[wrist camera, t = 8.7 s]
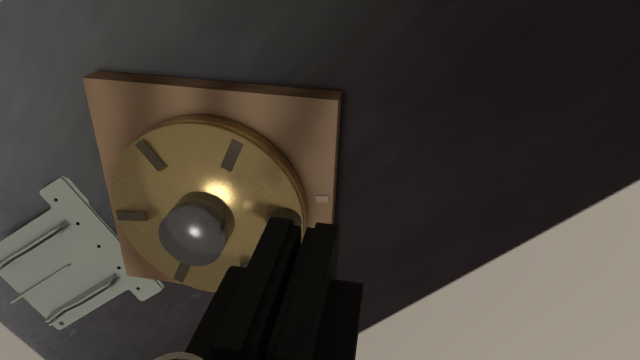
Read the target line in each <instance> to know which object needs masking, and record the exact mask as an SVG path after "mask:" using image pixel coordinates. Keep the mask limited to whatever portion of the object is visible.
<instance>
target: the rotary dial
mask: <svg viewBox="0 0 640 360" xmlns="http://www.w3.org/2000/svg"><path fill="white" fill-rule="evenodd" d="M111 195H112V204H113V208H114V212H115V215H116V218H117V221H118V223H119V225H120V227H121V229H122V231H123V233H124V234H125V236H126V237H127V239H128V240H129V242H130V243H131V244H132V246H133V247H134V248H135V249H136V251H137V252H138V253H139V254H140V255H141V256H142V257H143V258H144V259H145V260H146V261H148V262H149V263H150V264H151V265H152V266H154V267H155V268H156V269H158V270H159V271H161V272H162V273H163V274H165V275H167V276H169V277H170V278H172V279H174V280H176V281H178V282H180V283H183V284H185V285H188V286H190V287H193V288H196V289H200V290H204V291H209V292H216V291H217V289H218V287H219V285H220V283H221V281H222V279H223V277H224V275H225V273H226V271H227V270H228V268H229V267H230V266H240V267H247V265H248V263H249V261H250V259H251V257H252V255H253V252H254V250H255V248H256V246H257V244H258V242H259V240H260V237H261V235H262V233H263V231H264V229H265V227H266V224H267V222H268V220H269V218H270V217H279V218H287V219H293V220H294V225H295V226H301V242H302V239H303V236H304V233H305V229H306V224H307V203H306V197H305V193H304V190H303V187H302V184H301V182H300V180H299V177H298V175H297V174H296V172H295V170H294V169H293V167H292V165H291V164H290V163H289V162H288V160H287V159H286V158H285V156H284V155H283V154H282V153H281V152H280V151H279V150H278V149H277V148H276V147H275V146H274V145H273V144H271V143H270V142H269V141H268V140H267V139H265V138H264V137H263V136H261V135H259V134H258V133H256V132H255V131H253V130H251V129H249V128H247V127H245V126H243V125H241V124H239V123H236V122H233V121H230V120H228V119H224V118H219V117H215V116H207V115H186V116H180V117H175V118H172V119H169V120H166V121H163V122H161V123H159V124H157V125H155V126H154V127H152V128H151V129H150V130H148V131H147V132H146V133H144V134H143V135H142V136H141V137H139V138H138V139H137V140H136V141H135V142H133V143H132V144H131V145H130V146H129V147H128V148H127V149H126V150H125V151H124V153H123V154H122V156H121V157H120V159H119V160H118V163H117V165H116V167H115V170H114V173H113V177H112V185H111Z"/></svg>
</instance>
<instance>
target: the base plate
mask: <svg viewBox="0 0 640 360" xmlns="http://www.w3.org/2000/svg"><path fill="white" fill-rule="evenodd" d="M83 82H84V87H85V91H86V96H87V100H88V105H89V109H90V114H91V118H92V123H93V127H94V131H95V136H96V140H97V145H98V149H99V154H100V158H101V163H102V167H103V172H104V176H105V180H106V185H107V189H108V194H109V198H110V203H111V207H112V212H113V216H114V221H115V225H116V229H117V234H118V238H119V243H120V247H121V252H122V256H123V261H124V265H125V270H126V274H127V276H132V277H139V278H146V279H153V280H160V281H166V282H173V283H180V282H178V281H176V280H174V279H172V278H170V277H169V276H167V275H165V274H163V273H162V272H161V271H159V270H158V269H156V268H155V267H154V266H152V265H151V264H150V263H149V262H148V261H146V260H145V259H144V258H143V257H142V256H141V255H140V254H139V253H138V252H137V251H136V249H135V248H134V247H133V246H132V244H131V243H130V242H129V240H128V239H127V237H126V236H125V234H124V233H123V231H122V229H121V227H120V225H119V223H118V221H117V218H116V215H115V212H114V208H113V204H112V195H111V185H112V177H113V173H114V170H115V167H116V165H117V163H118V160H119V159H120V157H121V156H122V154H123V153H124V151H125V150H126V149H127V148H128V147H129V146H130V145H131V144H132V143H133V142H135V141H136V140H137V139H138V138H139V137H141V136H142V135H143V134H144V133H146V132H147V131H148V130H150V129H151V128H152V127H154V126H155V125H157V124H159V123H161V122H163V121H166V120H169V119H172V118H175V117H180V116H186V115H207V116H215V117H219V118H224V119H228V120H230V121H233V122H236V123H239V124H241V125H243V126H245V127H247V128H249V129H251V130H253V131H255V132H256V133H258V134H259V135H261V136H263V137H264V138H265V139H267V140H268V141H269V142H270V143H271V144H273V145H274V146H275V147H276V148H277V149H278V150H279V151H280V152H281V153H282V154H283V155H284V156H285V158H286V159H287V160H288V162H289V163H290V164H291V165H292V167H293V169H294V170H295V172H296V174H297V175H298V177H299V180H300V182H301V184H302V187H303V190H304V193H305V197H306V203H307V224H306V229H307V227H311V228H315V225H316V223H317V222H319V223H327V224H334V216H335V199H336V181H337V164H338V147H339V130H340V112H341V95H342V92H341V91H329V90H317V89H306V88H294V87H283V86H271V85H259V84H248V83H236V82H225V81H213V80H201V79H190V78H178V77H167V76H155V75H144V74H132V73H120V72H109V71H95V72H93V73H91V74H89V75H87V76H85V77H83ZM306 229H305V231H306ZM304 234H305V233H304ZM303 237H304V236H303ZM302 240H303V239H302ZM301 243H302V242H301ZM180 284H183V283H180Z"/></svg>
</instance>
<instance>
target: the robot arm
mask: <svg viewBox="0 0 640 360" xmlns="http://www.w3.org/2000/svg"><path fill="white" fill-rule="evenodd" d="M338 239H339V225H335V224H327V223H319V222H317V223H316V225H315V228H311V227H307V229H306V231H305V234H304V237H303V240H302V243H301V226H295V225H294V220H293V219H287V218H279V217H270V218H269V220H268V222H267V224H266V227H265V229H264V231H263V233H262V235H261V237H260V240H259V242H258V244H257V246H256V248H255V250H254V252H253V255H252V257H251V259H250V261H249V263H248V265H247V267H240V266H230V267H229V268H228V270H227V271H226V273H225V275H224V277H223V279H222V281H221V283H220V285H219V287H218V289H217V291H216V293H215V295H214V297H213V299H212V300H211V302H210V304H209V306H208V308H207V310H206V312H205V314H204V316H203V318H202V320H201V322H200V324H199V326H198V328H197V330H196V331H195V333H194V335H193V337H192V339H191V341H190V343H189V345H188V347H187V349H186V351H185V352H177V353H169V354H166V355H163V356H160V357H158V358H156V359H154V360H355V355H356V347H357V338H358V330H359V322H360V313H361V303H362V294H363V283H355V282H348V281H341V280H336V270H337V254H338Z"/></svg>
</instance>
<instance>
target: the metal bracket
mask: <svg viewBox="0 0 640 360" xmlns="http://www.w3.org/2000/svg"><path fill="white" fill-rule="evenodd" d="M40 195H41V196H42V197H43V198H44V199H45V200H46V201H47V202H48V203H49V204H50V206H51V209H50V210H48V211H47V212H45V213H44V214H42V215H41V216H39V217H38V218H36V219H35V220H33V221H31V222H30V223H28V224H27V225H25V226H24V227H22V228H21V229H19V230H18V231H16V232H14V233H13V234H11V235H10V236H8V237H7V238H5V239H4V240H2V241H0V276H1V277H2V278H3V279H4V280H5V281H6V282H8V283H9V284H10V285H11V286H12V287H13V288H14V289H15V290H16V291H17V292H18V293H19V294H18V295H17V296H16V297H15V298H14V299H13V300H12V301H11V302H10V303H11V304H12V303H14V302H15V301H17V300H18V299H20V298H21V297H23V298H24V299H26V300H27V301H28V302H29V303H30V304H31V305H32V306H33V307H34V308H35V309H36V310H37V311H38V312H39V313H40V314H41V315H43V316H44V317H45V318H46V320H45V322H46V323H47V322H49V323H48V325H49V326H51V325H53V326H54V327H55V328H56V329H58V330H61V329H63V328H64V327H66V326H68V325H69V324H71V323H73V322H74V321H76V320H78V319H79V318H81V317H83V316H84V315H86V314H88V313H89V312H91V311H92V310H94V309H96V308H97V307H99V306H101V305H102V304H104V303H106V302H107V301H109V300H111V299H112V298H114V297H116V296H117V295H119V294H121V293H122V292H124V291H126V290H130V291H131V292H132V293H133V294H134V295H135V296H136V297H137V298H138V299H139V300H141V301H145V300H146V299H148V298H150V297H151V296H153V295H155V294H156V293H158V292H160V291H161V290H162V289H163V288H164V286H163V284H162V283H161V282H160V281H159V280H153V279H146V278H139V277H132V276H127V274H126V270H125V265H124V261H123V256H122V252H121V247H120V243H119V238H118V236H117V235H116V234H115V233H114V232H113V230H112V229H111V228H110V227H109V226H108V225H107V224H106V223H105V222H104V220H103V219H102V218H101V217H100V216H99V215H98V214H97V213H96V212H95V210H94V209H93V208H92V207H91V206H90V205H89V201H88V200H87V199H86V197H85V196H84V195H83V194H82V193H81V192H80V191H79V190H78V188H77V187H76V186H75V185H74V184H73V183H72V182H71V180H70V179H68V178H67V177H65V176H61V177H60V178H58V179H57V180H55V181H54V182H52V183H51V184H49V185H48V186H46V187H44V188H43V189H41V190H40ZM55 198H56V199H58V201H55V200H54V199H55ZM76 222H79V223H80V225H78V224H77V223H76ZM97 245H100V246H101V247H98V246H97ZM118 266H120V267H121V268H120V269H119V268H118ZM137 287H139V288H140V289H137ZM60 321H63V322H64V324H61V323H60Z"/></svg>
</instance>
